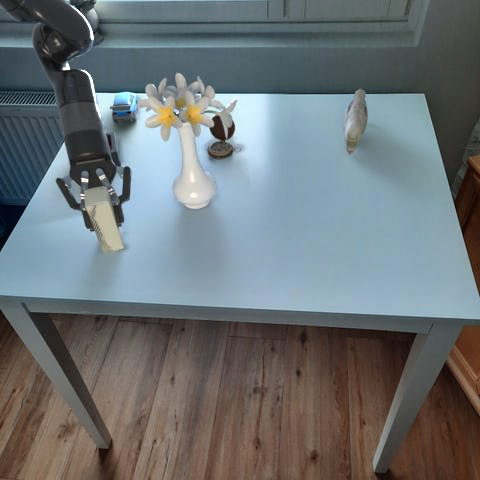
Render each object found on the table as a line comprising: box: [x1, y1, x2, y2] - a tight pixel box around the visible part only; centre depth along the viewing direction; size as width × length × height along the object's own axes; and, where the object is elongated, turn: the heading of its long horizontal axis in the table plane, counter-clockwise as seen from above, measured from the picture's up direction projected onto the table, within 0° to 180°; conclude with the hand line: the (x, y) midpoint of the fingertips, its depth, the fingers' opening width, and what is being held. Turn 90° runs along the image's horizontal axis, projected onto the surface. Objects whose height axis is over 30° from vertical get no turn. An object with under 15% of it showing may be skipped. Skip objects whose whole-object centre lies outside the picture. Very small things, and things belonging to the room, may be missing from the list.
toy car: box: [109, 91, 140, 124], centre depth 121 cm, size 6×12×6 cm, turn 2°
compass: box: [206, 114, 242, 160], centre depth 109 cm, size 8×8×7 cm
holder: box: [106, 131, 122, 167], centre depth 110 cm, size 8×8×4 cm
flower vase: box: [136, 72, 238, 210], centre depth 92 cm, size 13×18×25 cm
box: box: [84, 186, 125, 253], centre depth 89 cm, size 5×4×13 cm
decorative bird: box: [342, 88, 369, 155], centre depth 110 cm, size 5×16×7 cm, turn 166°
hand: (106, 228), depth 87 cm, fingers closed on box, 4 cm apart
